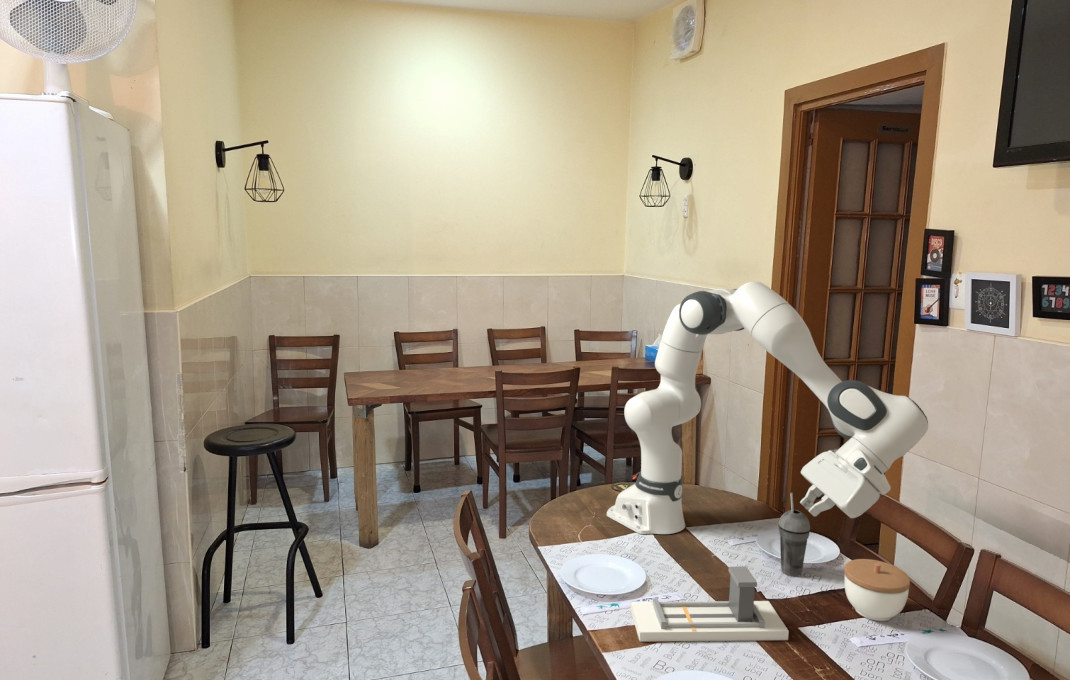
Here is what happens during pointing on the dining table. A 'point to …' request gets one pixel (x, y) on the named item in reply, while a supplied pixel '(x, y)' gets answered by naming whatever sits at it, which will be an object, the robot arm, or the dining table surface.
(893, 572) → the lidded bowl
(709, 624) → the fader console
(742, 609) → the fader tab
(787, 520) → the beverage cup
